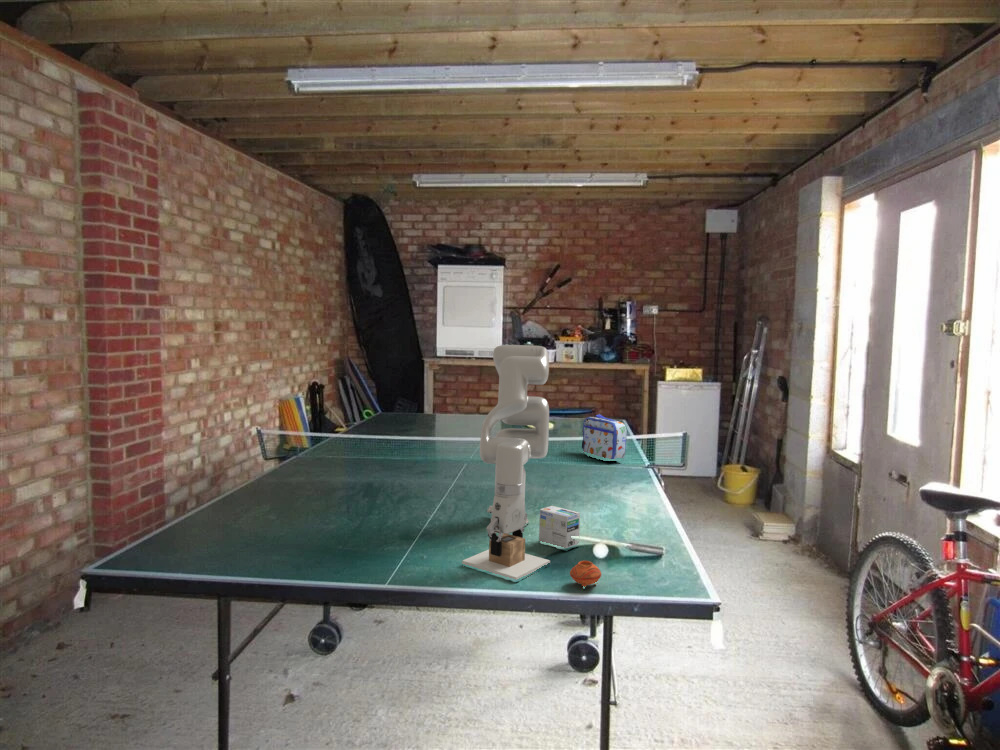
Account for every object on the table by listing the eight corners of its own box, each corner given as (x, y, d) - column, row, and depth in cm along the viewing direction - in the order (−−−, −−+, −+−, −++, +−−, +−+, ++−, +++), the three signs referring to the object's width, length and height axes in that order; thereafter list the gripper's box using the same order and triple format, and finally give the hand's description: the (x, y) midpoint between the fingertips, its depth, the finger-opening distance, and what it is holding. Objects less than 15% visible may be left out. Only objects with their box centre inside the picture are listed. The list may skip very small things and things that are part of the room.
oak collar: (509, 567, 172) (510, 545, 172) (488, 560, 176) (489, 539, 176) (524, 559, 178) (525, 538, 177) (504, 554, 182) (504, 533, 181)
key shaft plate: (462, 565, 176) (462, 538, 175) (497, 550, 189) (498, 525, 188) (516, 583, 165) (517, 554, 165) (549, 565, 178) (550, 539, 177)
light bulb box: (579, 547, 194) (581, 511, 193) (566, 552, 189) (567, 516, 188) (551, 538, 201) (552, 504, 200) (537, 543, 196) (538, 508, 195)
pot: (603, 592, 160) (598, 566, 160) (572, 596, 162) (567, 570, 161) (604, 579, 168) (598, 554, 168) (574, 583, 169) (569, 558, 169)
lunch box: (577, 455, 335) (578, 412, 333) (592, 453, 340) (594, 412, 339) (611, 465, 311) (613, 420, 310) (628, 464, 317) (630, 419, 315)
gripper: (500, 497, 166) (498, 562, 167) (537, 485, 180) (535, 545, 181) (477, 492, 171) (476, 555, 172) (515, 480, 184) (513, 539, 186)
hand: (506, 550), depth 177 cm, fingers open, 9 cm apart
